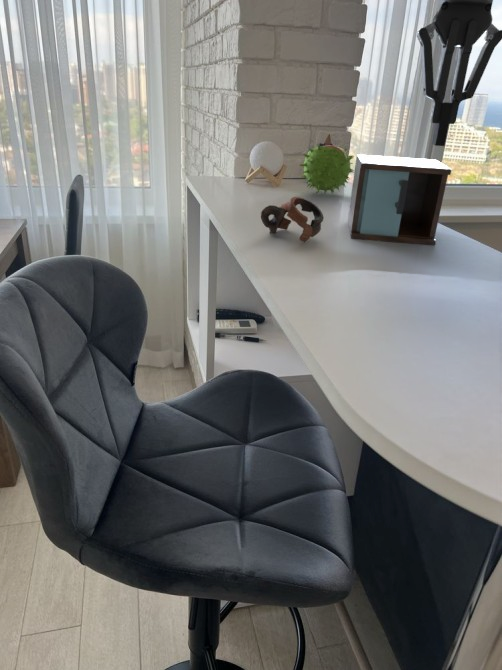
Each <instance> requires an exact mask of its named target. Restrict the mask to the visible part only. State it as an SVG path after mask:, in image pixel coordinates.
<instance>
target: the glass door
mask: <svg viewBox="0 0 502 670" xmlns="http://www.w3.org/2000/svg"><path fill="white" fill-rule="evenodd" d="M408 177H409V172H400V171H386V170H371V169H369V175H368V182H367V189H366V195H365V202H364V209H363V216H362V222H361V229H360V234H372V235H384V236H397V237H398V232H399V226H400V221H401V215H402V213H403V208H404V202H405V197H406V191H407V186H408Z"/></svg>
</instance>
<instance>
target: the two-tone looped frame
mask: <svg viewBox="0 0 502 670" xmlns="http://www.w3.org/2000/svg"><path fill="white" fill-rule="evenodd" d="M299 205H300V207H301V210H299V209H298V208H297V206H299ZM301 211H302V212H307V213H312V214H313V218H314V219H312V220H311V222H310V224H309V223H308V220H309V218H308V216H306V215H304V214H303V213H302V212H301ZM271 215H272V218H271V219H270V216H271ZM285 216H287V217H288V218H286V217H285ZM260 220H261V223H262V224H263V225H264V227H266V228H268V229H269V234H270V235H271V234H277V231H278V229H280V230H285V231H288V228H289V226H290V224H291V223H292V221H293V222H294V223H296V224H297V225H298V226H299V227H300V228H302V229H303V230H302V233H301V235H300V236H299V241H301V242H303V243H307V242H308V241H309V240H310V238H313V237H315V236H316V235H318V234H319V233H320V231H321V230H322V223H323V221H324V214H323V212H322V210H321V209H320V208H319V207H318V206H317V205H316V204H315V203H313V201H310V200H308V199H306V198H304V197H300V196H294V197H291V199H290V200H289V201H287V202H284V203H282V204H280V205H279V206H277V205H272V204H270V205H267V206H264V208H263V209H262V210H261V212H260Z"/></svg>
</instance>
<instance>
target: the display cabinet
mask: <svg viewBox="0 0 502 670" xmlns="http://www.w3.org/2000/svg"><path fill="white" fill-rule="evenodd" d="M369 169H371V170H386V171H400V172H409V177H408V186H407V191H406V197H405V202H404V208H403V213H402V215H401V221H400V226H399V232H398V237H397V236H384V235H372V234H360V229H361V222H362V216H363V209H364V202H365V195H366V189H367V182H368V175H369ZM354 170H355V171H353V180H352V187H351V194H350V201H349V210H348V217H347V227H348V230H349V231H348V232H349V235H350V239H355V240H365V239H367V240H366V241H368V240H369V241H378V240H380V241H379V242H392V243H404V244H414V243H415V245H416V244H417V245H428V246H435V245H436V244H437V243H436V242H437V239H435V237H436V233H437V228H438V224H439V219H440V214H441V211H442V205H443V200H444V196H445V191H446V187H447V181H448V177H449V176H451V174H452V168H450V167H448V166H447V165H445V164H444V163H442V162H440V161H439V160H437V159H429V158H414V157H401V156H386V155H384V156H383V155H371V154H369V155H367V154H356V158H355V166H354Z"/></svg>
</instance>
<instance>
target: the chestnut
mask: <svg viewBox="0 0 502 670" xmlns="http://www.w3.org/2000/svg"><path fill="white" fill-rule="evenodd" d="M336 145H337V144H336V143H335V144H334V145H331V144H327V145H319V144H317V146H316V147H313V148H310V147H308V149H309V151H308V152H307V154H306V153H303V156H305V158H304V161H303V163H301V164H299V166H300V167H303V172H302V174H301V176H300V179H302V178H305V179H306V180H307V182H306V184H307V185H306V187H309V188H311V189H313V188H315V189H316V195H318V193H319V192H320V191H323V192H324V195H326V193H328V192H327V191H330V192H331V193H332V194H335V189H337V190H338V191H340V186H343V187H344V188H347V186H346V185H345V183H346V184H349V182H348V181H350V177H349V175H350V173H351V174H352V173H354V172H355V169H353V168H351V165H353V164H354V163H353V162H351V160H352V159H354V157H355V155H349V152H348V151H347V150H348V147H346V148H345V147H344V146H339V145H337V146H336ZM347 180H348V181H347Z"/></svg>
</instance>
